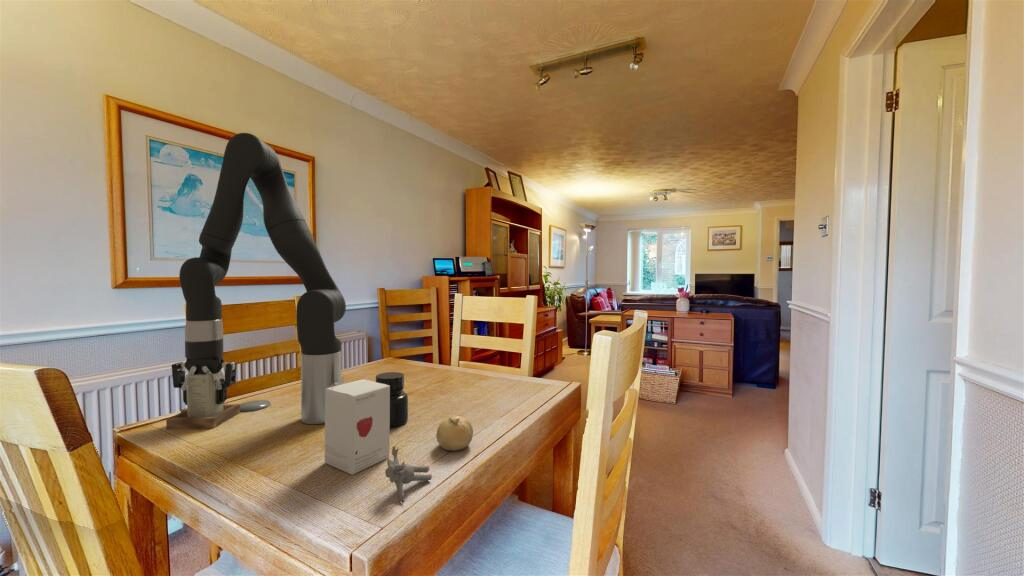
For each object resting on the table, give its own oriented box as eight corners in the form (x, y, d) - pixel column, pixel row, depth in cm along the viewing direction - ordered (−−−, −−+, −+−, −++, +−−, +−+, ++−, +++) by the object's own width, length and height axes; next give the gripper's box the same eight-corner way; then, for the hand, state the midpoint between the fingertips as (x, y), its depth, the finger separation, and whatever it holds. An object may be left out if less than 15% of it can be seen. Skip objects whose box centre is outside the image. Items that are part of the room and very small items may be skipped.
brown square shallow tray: (240, 412, 102) (240, 401, 102) (213, 428, 92) (213, 415, 92) (197, 413, 101) (197, 402, 101) (166, 429, 91) (165, 416, 91)
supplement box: (351, 476, 71) (351, 396, 70) (323, 463, 76) (323, 388, 75) (391, 457, 79) (391, 384, 78) (362, 446, 83) (363, 378, 83)
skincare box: (224, 418, 99) (223, 371, 98) (209, 424, 94) (208, 375, 94) (201, 416, 99) (201, 370, 99) (185, 423, 95) (185, 374, 94)
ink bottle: (373, 416, 101) (373, 371, 100) (408, 414, 103) (408, 369, 103) (369, 431, 91) (369, 381, 91) (407, 428, 94) (407, 379, 93)
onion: (428, 447, 84) (428, 414, 83) (456, 436, 90) (456, 405, 89) (452, 459, 78) (453, 424, 78) (480, 446, 84) (481, 414, 84)
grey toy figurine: (445, 493, 66) (400, 494, 60) (424, 510, 68) (378, 513, 62) (432, 440, 73) (391, 436, 67) (413, 457, 75) (371, 455, 69)
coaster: (275, 401, 112) (275, 399, 112) (260, 411, 104) (260, 409, 104) (246, 402, 111) (246, 400, 111) (228, 412, 103) (228, 409, 103)
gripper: (244, 335, 100) (244, 398, 101) (184, 335, 99) (185, 399, 100) (225, 340, 93) (226, 408, 94) (161, 340, 92) (162, 409, 92)
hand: (205, 403), depth 97 cm, fingers closed on skincare box, 6 cm apart
